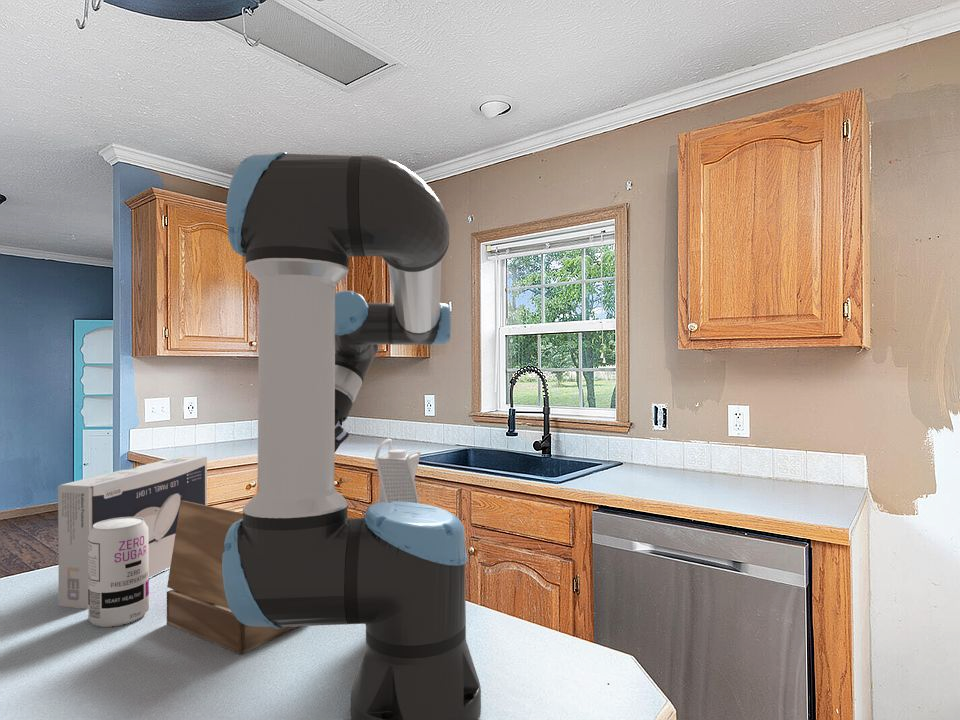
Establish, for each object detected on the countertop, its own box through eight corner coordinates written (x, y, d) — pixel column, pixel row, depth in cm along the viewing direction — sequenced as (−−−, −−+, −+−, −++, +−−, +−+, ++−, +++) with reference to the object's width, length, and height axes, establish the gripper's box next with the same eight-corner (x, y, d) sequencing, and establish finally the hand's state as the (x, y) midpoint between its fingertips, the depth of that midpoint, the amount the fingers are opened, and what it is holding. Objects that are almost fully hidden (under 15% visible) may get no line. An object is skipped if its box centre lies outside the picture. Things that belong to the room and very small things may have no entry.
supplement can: (110, 606, 100) (110, 515, 100) (159, 607, 100) (159, 516, 100) (76, 628, 92) (75, 529, 92) (129, 629, 92) (128, 530, 92)
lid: (170, 586, 94) (183, 500, 96) (241, 611, 85) (254, 515, 86) (167, 587, 93) (180, 500, 95) (238, 612, 84) (251, 516, 86)
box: (245, 593, 106) (245, 565, 105) (318, 617, 96) (318, 586, 96) (166, 624, 94) (166, 591, 94) (241, 654, 84) (241, 618, 84)
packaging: (89, 609, 100) (88, 486, 99) (58, 605, 101) (57, 485, 101) (208, 550, 129) (207, 456, 129) (182, 548, 130) (182, 455, 130)
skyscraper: (362, 615, 97) (362, 439, 96) (410, 605, 101) (409, 436, 100) (381, 637, 89) (380, 446, 89) (431, 624, 93) (431, 442, 93)
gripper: (373, 406, 112) (320, 529, 100) (320, 405, 119) (265, 520, 106) (350, 384, 107) (291, 510, 95) (296, 384, 113) (235, 502, 101)
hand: (278, 515), depth 101 cm, fingers closed
